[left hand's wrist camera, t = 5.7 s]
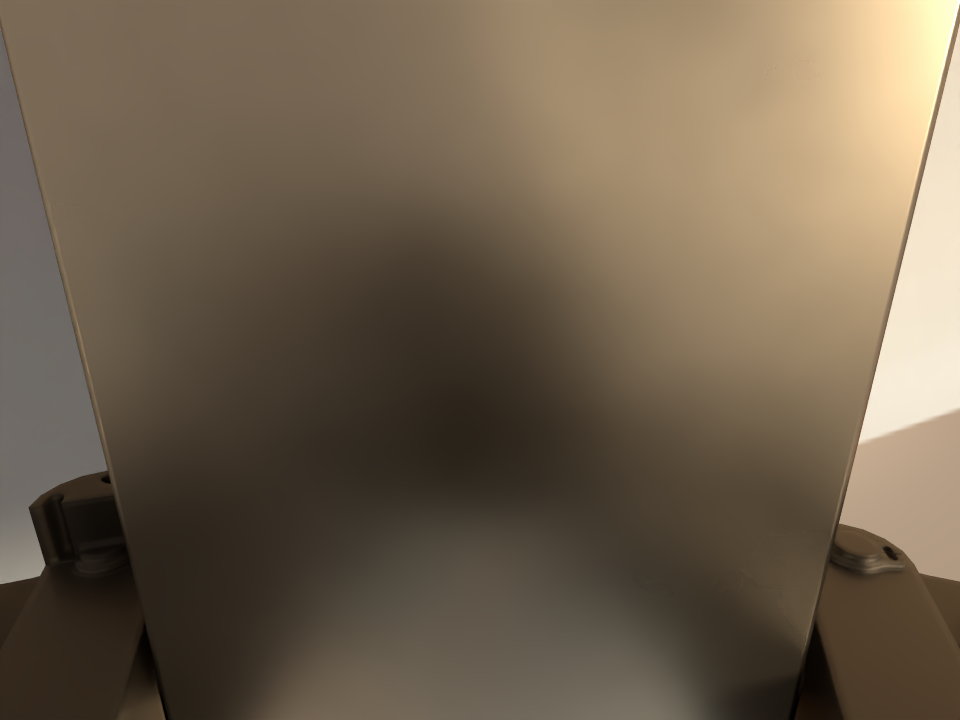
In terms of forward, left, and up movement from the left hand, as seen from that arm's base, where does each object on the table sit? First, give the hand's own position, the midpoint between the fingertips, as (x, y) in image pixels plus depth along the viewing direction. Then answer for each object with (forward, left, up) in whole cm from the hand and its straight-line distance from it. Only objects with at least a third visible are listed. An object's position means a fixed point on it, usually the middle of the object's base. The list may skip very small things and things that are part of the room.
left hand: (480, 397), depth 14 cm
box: (+5, +9, 0) cm, 11 cm away
